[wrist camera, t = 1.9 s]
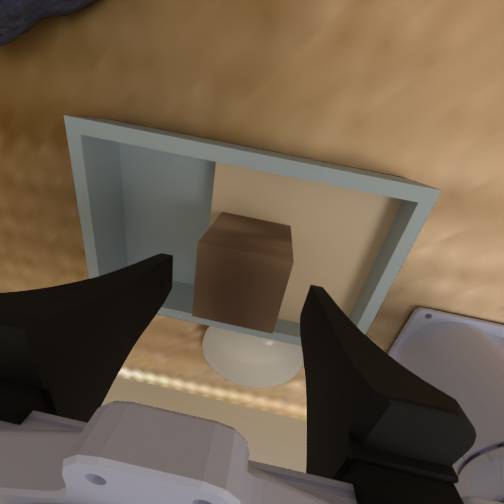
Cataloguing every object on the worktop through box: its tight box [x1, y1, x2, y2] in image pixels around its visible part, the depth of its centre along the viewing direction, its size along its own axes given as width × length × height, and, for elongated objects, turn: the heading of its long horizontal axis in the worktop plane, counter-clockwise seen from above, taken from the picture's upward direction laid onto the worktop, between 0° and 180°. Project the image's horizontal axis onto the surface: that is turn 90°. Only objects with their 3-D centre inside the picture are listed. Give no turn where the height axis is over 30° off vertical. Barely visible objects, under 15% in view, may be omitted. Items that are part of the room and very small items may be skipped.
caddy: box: [64, 115, 442, 346], centre depth 17 cm, size 20×12×4 cm, turn 80°
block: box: [192, 212, 294, 334], centre depth 14 cm, size 4×4×5 cm
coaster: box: [202, 326, 304, 388], centre depth 24 cm, size 10×10×1 cm
